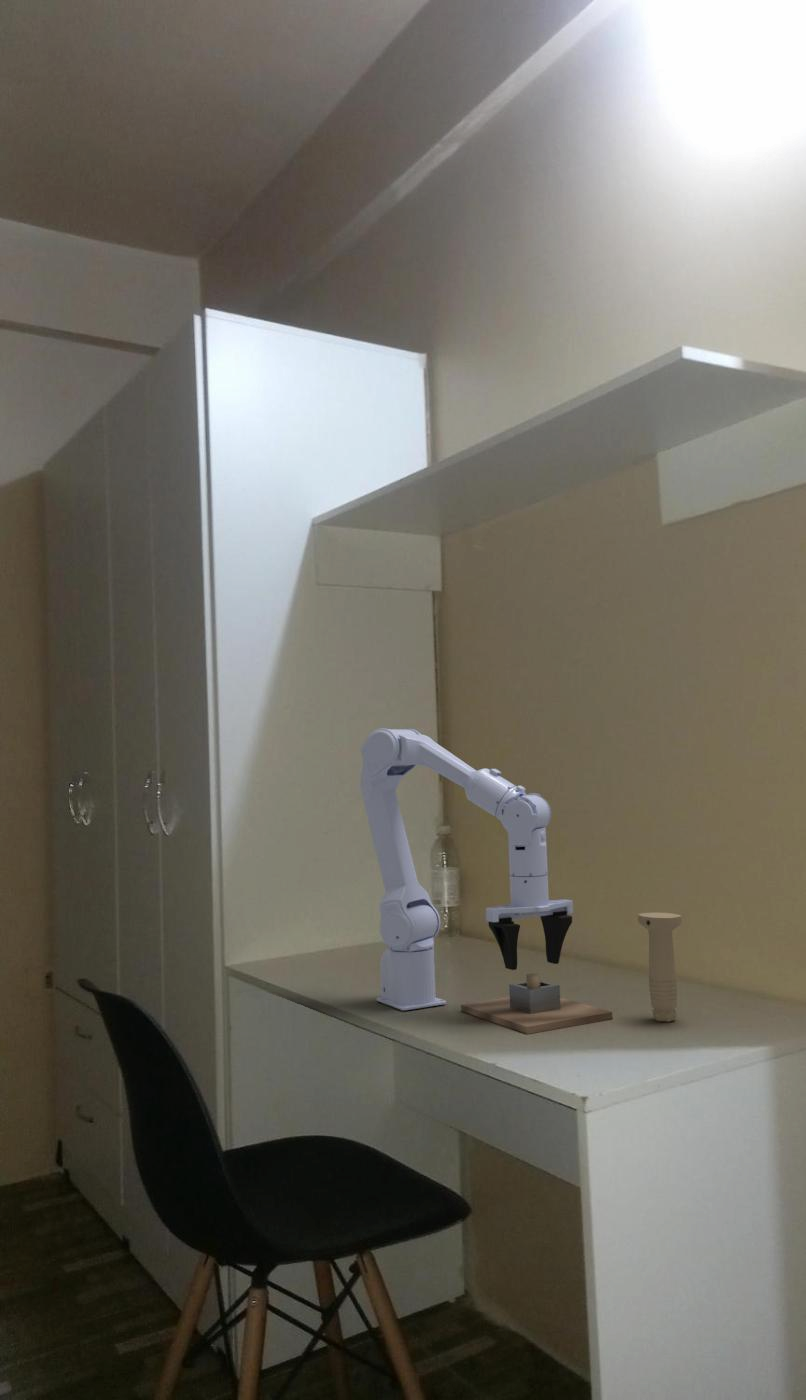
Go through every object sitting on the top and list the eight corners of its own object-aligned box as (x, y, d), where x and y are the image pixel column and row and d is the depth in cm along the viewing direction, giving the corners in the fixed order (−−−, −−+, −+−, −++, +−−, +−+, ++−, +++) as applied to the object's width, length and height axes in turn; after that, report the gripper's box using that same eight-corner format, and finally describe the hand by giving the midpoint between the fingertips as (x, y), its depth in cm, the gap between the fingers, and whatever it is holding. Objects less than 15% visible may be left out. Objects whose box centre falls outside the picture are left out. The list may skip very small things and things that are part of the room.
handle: (659, 1013, 165) (654, 911, 166) (693, 1020, 160) (687, 915, 161) (636, 1018, 162) (631, 915, 163) (670, 1026, 157) (664, 919, 158)
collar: (510, 1007, 168) (509, 984, 169) (539, 1002, 171) (538, 979, 171) (530, 1013, 164) (529, 989, 164) (560, 1008, 166) (559, 985, 166)
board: (461, 1011, 172) (459, 971, 172) (541, 998, 179) (539, 960, 179) (527, 1034, 156) (525, 990, 156) (612, 1018, 163) (610, 977, 163)
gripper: (502, 880, 162) (506, 975, 161) (583, 873, 168) (587, 964, 168) (477, 877, 168) (480, 968, 167) (556, 869, 175) (559, 957, 174)
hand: (532, 965), depth 168 cm, fingers open, 7 cm apart
